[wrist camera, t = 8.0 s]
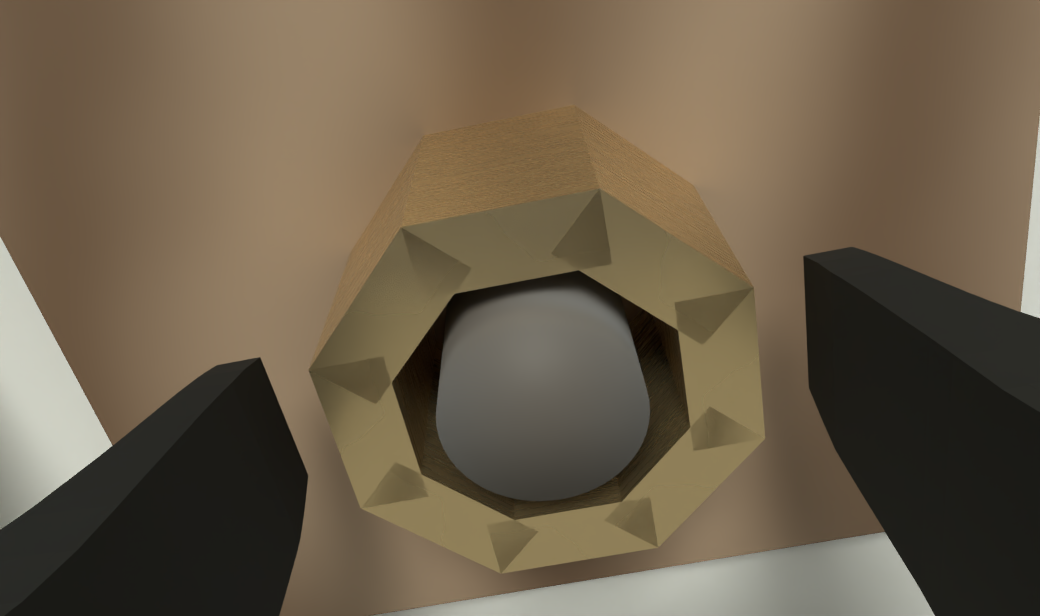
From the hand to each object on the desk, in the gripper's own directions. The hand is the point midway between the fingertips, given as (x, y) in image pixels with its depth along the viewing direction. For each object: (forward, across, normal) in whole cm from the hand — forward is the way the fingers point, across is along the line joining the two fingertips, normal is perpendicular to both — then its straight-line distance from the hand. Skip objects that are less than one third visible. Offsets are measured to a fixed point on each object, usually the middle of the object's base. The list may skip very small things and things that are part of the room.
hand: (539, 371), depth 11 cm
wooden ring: (+3, 0, 0) cm, 3 cm away
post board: (+4, 0, 0) cm, 4 cm away
